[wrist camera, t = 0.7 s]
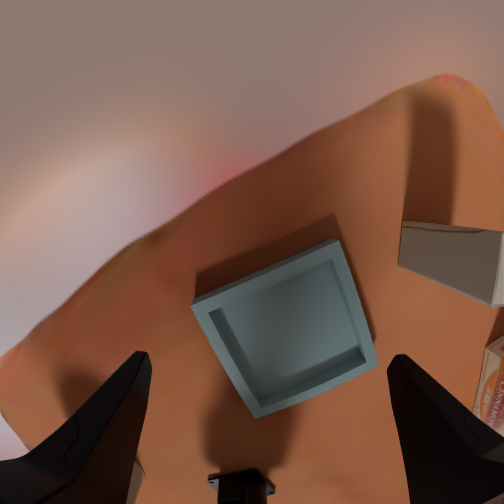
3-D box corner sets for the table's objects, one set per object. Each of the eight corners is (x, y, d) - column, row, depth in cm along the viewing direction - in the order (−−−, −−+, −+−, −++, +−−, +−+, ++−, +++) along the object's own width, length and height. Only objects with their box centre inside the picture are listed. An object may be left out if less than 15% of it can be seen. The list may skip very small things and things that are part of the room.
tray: (370, 355, 24) (378, 364, 22) (253, 406, 24) (254, 419, 22) (330, 238, 22) (339, 240, 20) (194, 298, 23) (190, 305, 21)
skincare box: (448, 225, 23) (545, 237, 11) (444, 270, 23) (536, 301, 11) (399, 219, 22) (503, 228, 10) (394, 270, 23) (492, 309, 11)
